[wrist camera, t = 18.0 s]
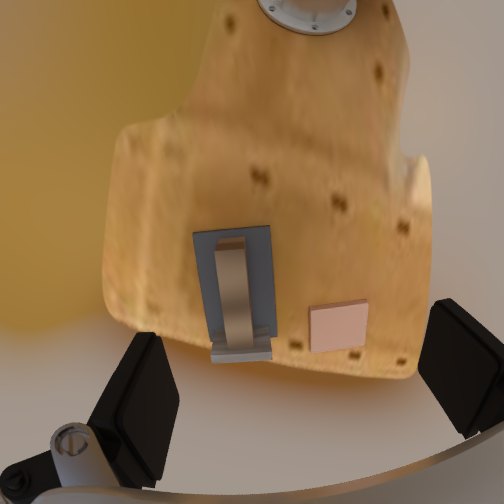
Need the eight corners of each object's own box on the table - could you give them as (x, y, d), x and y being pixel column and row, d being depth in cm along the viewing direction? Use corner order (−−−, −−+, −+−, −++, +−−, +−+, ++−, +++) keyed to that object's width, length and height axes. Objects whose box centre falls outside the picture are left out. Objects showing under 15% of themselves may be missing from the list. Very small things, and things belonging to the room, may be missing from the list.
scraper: (202, 239, 34) (193, 256, 29) (262, 234, 34) (264, 250, 29) (216, 335, 38) (212, 363, 33) (269, 332, 38) (272, 359, 33)
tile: (310, 310, 37) (310, 353, 39) (368, 302, 37) (364, 344, 39) (308, 305, 38) (309, 347, 41) (364, 297, 38) (361, 339, 40)
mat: (193, 232, 35) (192, 233, 34) (269, 225, 35) (269, 226, 34) (211, 339, 39) (210, 341, 39) (276, 334, 39) (277, 336, 39)
